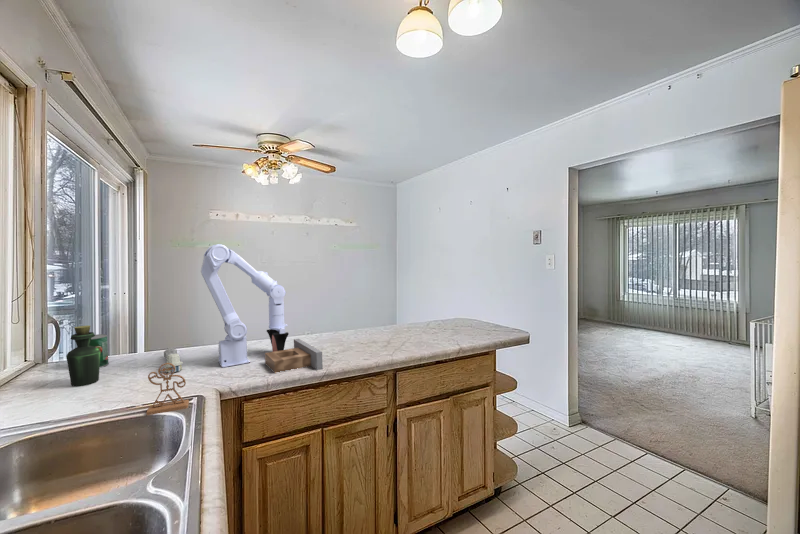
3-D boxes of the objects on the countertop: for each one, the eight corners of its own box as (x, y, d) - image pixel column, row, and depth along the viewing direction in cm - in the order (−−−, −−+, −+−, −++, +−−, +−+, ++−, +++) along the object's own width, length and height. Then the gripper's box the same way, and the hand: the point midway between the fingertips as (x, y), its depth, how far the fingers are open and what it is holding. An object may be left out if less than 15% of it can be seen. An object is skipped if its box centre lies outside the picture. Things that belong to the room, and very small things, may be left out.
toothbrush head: (177, 346, 140) (182, 350, 120) (178, 362, 140) (183, 370, 120) (161, 348, 137) (164, 353, 117) (162, 365, 137) (165, 373, 117)
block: (274, 373, 117) (274, 361, 117) (265, 364, 127) (264, 353, 127) (310, 365, 124) (310, 354, 124) (299, 357, 134) (298, 347, 134)
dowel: (274, 357, 135) (273, 336, 135) (271, 354, 139) (270, 334, 138) (284, 355, 138) (283, 335, 137) (281, 353, 141) (280, 333, 141)
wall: (317, 370, 119) (316, 352, 119) (294, 354, 139) (293, 339, 139) (322, 368, 120) (322, 351, 120) (299, 353, 140) (298, 338, 140)
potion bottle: (108, 379, 114) (106, 324, 113) (80, 388, 106) (77, 329, 105) (89, 377, 115) (86, 323, 115) (60, 386, 108) (57, 329, 107)
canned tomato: (107, 361, 133) (106, 333, 133) (109, 366, 128) (108, 336, 127) (79, 366, 128) (78, 336, 127) (80, 371, 122) (78, 340, 122)
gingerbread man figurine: (189, 402, 94) (187, 358, 94) (187, 408, 91) (185, 362, 90) (149, 409, 91) (147, 363, 90) (146, 415, 87) (144, 368, 87)
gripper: (292, 315, 134) (293, 350, 134) (281, 311, 146) (282, 343, 146) (273, 318, 130) (275, 354, 130) (263, 313, 142) (265, 346, 142)
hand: (277, 348), depth 138 cm, fingers open, 7 cm apart
